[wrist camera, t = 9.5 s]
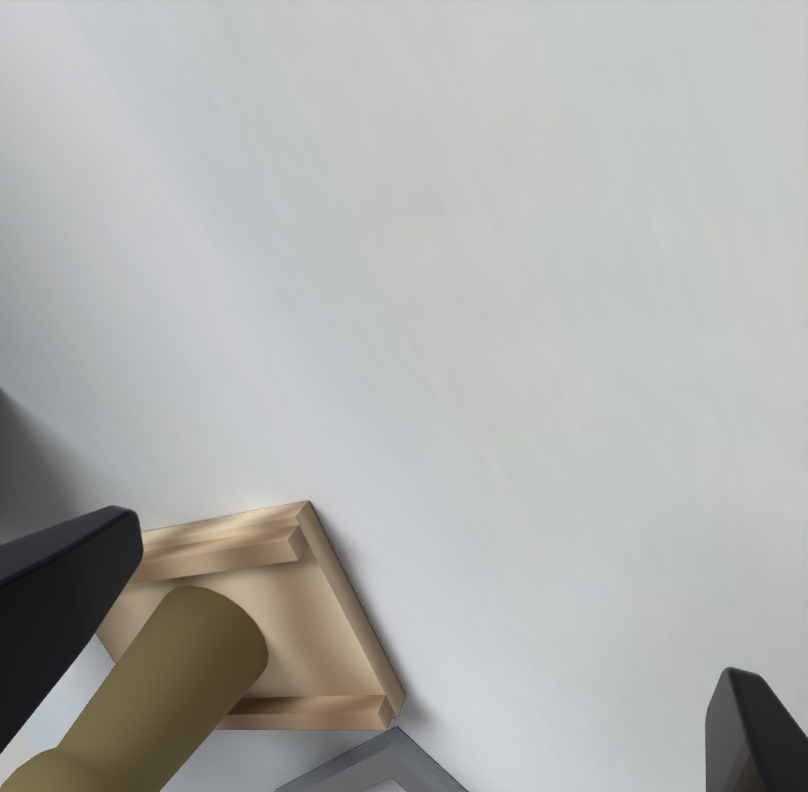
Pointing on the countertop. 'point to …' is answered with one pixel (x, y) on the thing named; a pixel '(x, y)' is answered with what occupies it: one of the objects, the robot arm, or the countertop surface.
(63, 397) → the countertop surface
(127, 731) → the cork
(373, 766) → the socket collar
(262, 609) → the tray
